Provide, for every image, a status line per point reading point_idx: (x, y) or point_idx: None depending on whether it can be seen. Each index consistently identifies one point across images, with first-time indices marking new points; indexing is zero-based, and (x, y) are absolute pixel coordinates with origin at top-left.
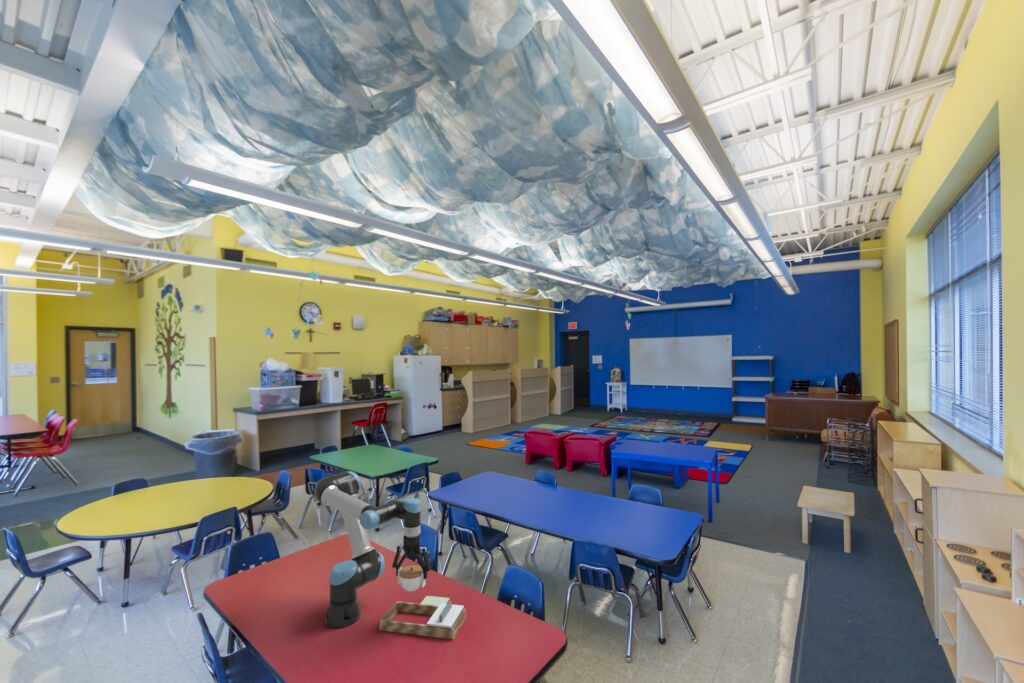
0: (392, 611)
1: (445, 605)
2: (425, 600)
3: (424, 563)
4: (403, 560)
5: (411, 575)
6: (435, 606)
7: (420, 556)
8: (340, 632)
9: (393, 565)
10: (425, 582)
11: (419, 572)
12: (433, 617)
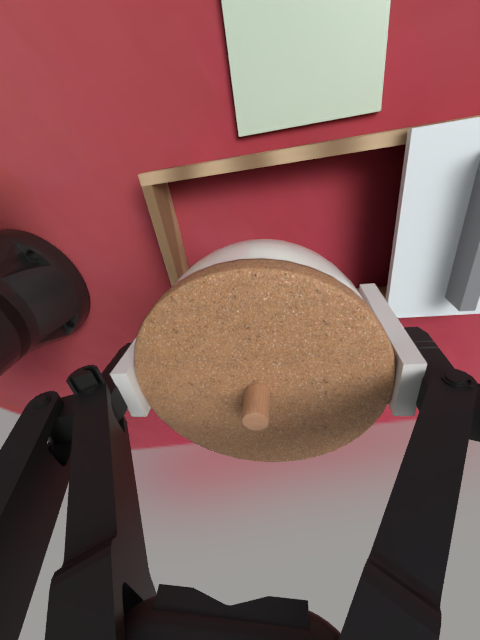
0: (172, 239)
1: (450, 143)
2: (240, 14)
3: (462, 458)
4: (132, 500)
5: (308, 454)
6: (371, 147)
7: (435, 605)
8: (99, 341)
9: (65, 445)
10: (379, 291)
11: (364, 408)
12: (404, 274)
